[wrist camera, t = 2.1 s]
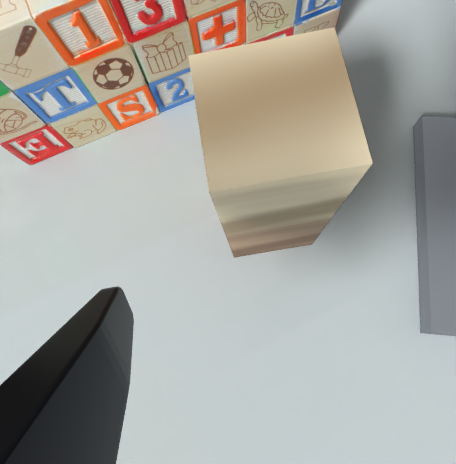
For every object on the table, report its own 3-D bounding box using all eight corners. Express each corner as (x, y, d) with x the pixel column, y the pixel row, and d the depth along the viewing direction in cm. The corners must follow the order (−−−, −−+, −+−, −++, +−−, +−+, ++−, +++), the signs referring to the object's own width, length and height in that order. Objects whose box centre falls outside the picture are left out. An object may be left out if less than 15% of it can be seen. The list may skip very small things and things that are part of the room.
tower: (311, 244, 20) (372, 163, 10) (234, 257, 20) (209, 192, 10) (295, 172, 21) (334, 27, 11) (222, 185, 22) (188, 55, 11)
